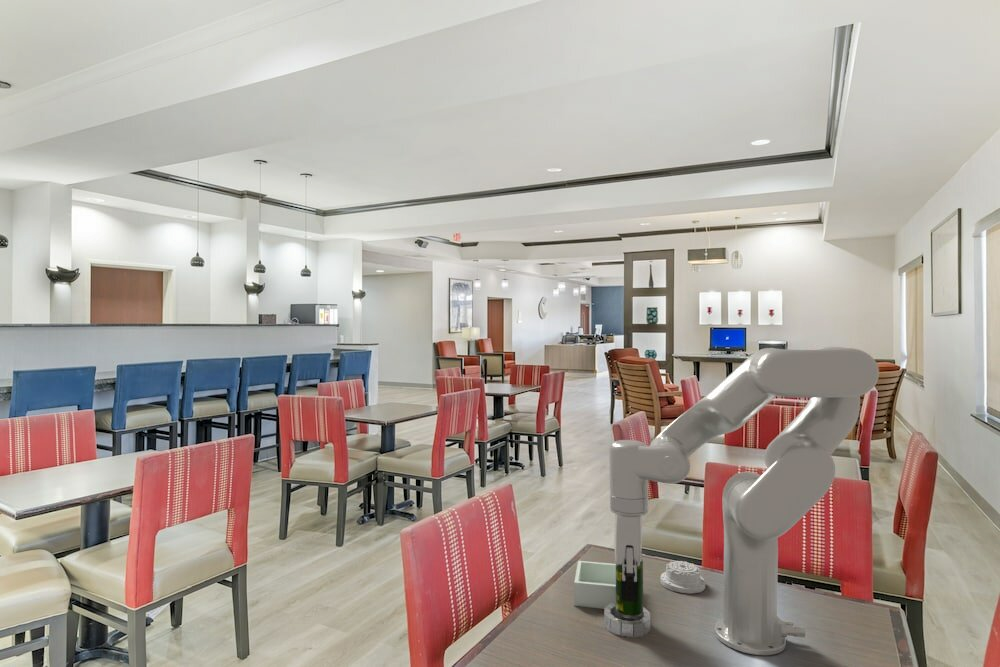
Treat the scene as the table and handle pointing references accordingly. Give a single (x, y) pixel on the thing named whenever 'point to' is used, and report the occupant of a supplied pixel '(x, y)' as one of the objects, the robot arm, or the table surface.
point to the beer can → (627, 607)
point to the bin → (595, 584)
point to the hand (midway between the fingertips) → (629, 592)
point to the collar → (626, 623)
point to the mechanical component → (683, 577)
